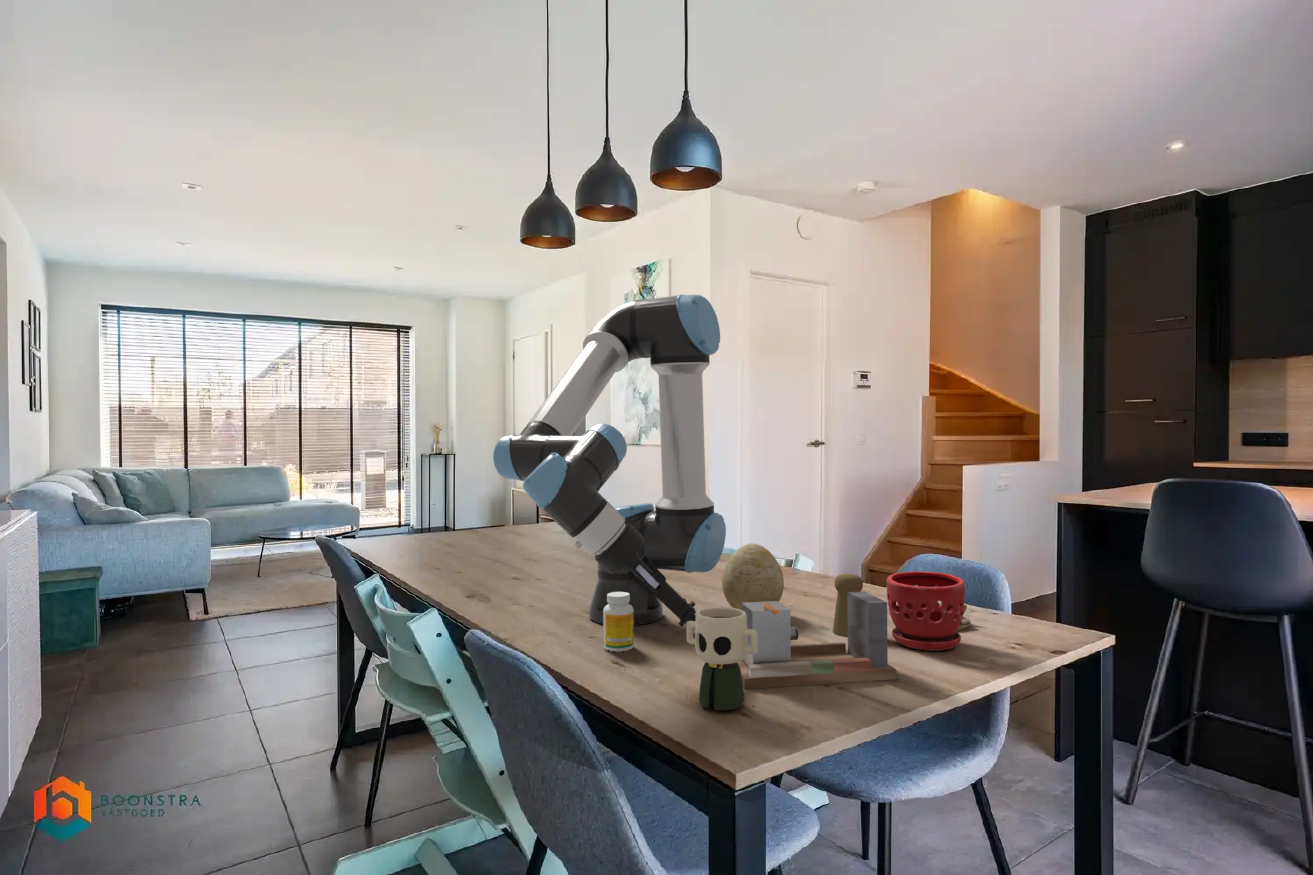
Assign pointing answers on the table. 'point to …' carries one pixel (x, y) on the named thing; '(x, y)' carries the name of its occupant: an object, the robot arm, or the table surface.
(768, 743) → the table surface
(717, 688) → the character mug
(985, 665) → the table surface
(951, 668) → the table surface
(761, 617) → the grey cube with stick
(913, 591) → the plant pot
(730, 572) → the fossilized egg
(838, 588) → the olive knobbed pawn
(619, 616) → the supplement bottle
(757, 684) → the brown grey l-shaped piece
